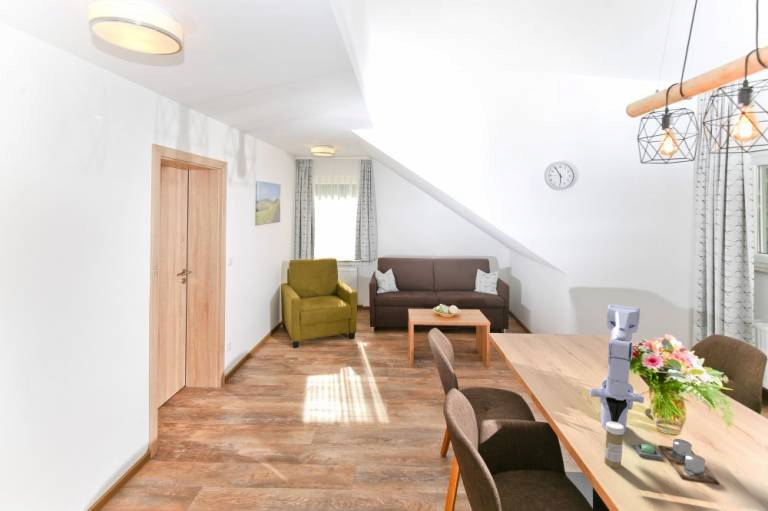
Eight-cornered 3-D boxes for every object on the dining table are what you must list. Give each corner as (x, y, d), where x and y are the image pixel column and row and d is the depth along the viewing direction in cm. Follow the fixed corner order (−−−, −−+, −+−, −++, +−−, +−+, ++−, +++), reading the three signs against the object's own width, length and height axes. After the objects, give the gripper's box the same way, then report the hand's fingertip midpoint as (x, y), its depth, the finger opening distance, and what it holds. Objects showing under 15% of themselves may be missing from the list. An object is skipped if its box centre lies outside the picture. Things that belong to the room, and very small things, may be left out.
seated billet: (668, 456, 128) (670, 438, 127) (685, 458, 127) (687, 439, 126) (675, 465, 124) (677, 446, 123) (692, 467, 123) (694, 448, 122)
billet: (685, 480, 116) (687, 460, 116) (681, 471, 120) (683, 451, 120) (704, 485, 115) (707, 464, 114) (700, 475, 119) (703, 456, 118)
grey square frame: (632, 450, 131) (633, 443, 130) (654, 453, 129) (655, 446, 129) (639, 461, 125) (639, 453, 125) (661, 464, 123) (662, 456, 123)
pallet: (658, 451, 131) (658, 445, 131) (690, 456, 128) (691, 449, 128) (681, 483, 115) (681, 476, 115) (718, 489, 113) (719, 483, 112)
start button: (639, 452, 129) (639, 442, 129) (651, 453, 128) (652, 444, 128) (642, 458, 126) (643, 448, 126) (655, 460, 125) (656, 450, 125)
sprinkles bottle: (604, 462, 124) (607, 419, 123) (622, 467, 121) (625, 423, 120) (602, 469, 121) (604, 425, 119) (619, 475, 118) (622, 430, 117)
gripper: (594, 380, 125) (591, 423, 126) (649, 387, 121) (645, 431, 122) (589, 372, 131) (586, 413, 133) (640, 378, 128) (637, 420, 129)
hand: (614, 421), depth 128 cm, fingers closed
